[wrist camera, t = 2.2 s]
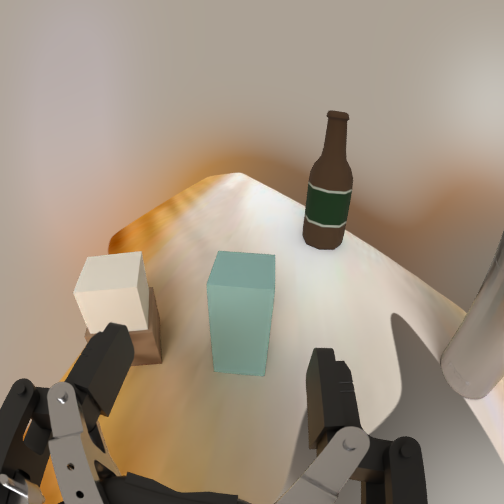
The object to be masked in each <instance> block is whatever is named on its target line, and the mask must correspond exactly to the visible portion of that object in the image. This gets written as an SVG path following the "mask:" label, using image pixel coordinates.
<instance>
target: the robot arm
mask: <svg viewBox="0 0 504 504" xmlns="http://www.w3.org/2000/svg"><path fill="white" fill-rule="evenodd" d="M134 354H135V351H134V346H133V343H132V340H131V337H130V334H129V331H128V328H127V326H126V325H122V324H117V323H112V322H110V323H108V325H107V326H106V328H105V329H104V331H103V332H100V331H99V332H98V333H97V334H95V335H94V336H93V337H92V338H91V339H90V340H89V342H88V343H87V345H86V348H84V350H83V352H82V353H81V355H80V356H79V358H78V360H77V361H76V363H75V365H74V367H73V368H72V370H71V372H70V373H69V375H68V377H67V379H66V380H65V381H64V382H58V383H56V384H54V385H53V386H52V387H51V388H41V387H35V386H34V385H33V384H32V382H31V381H30V380H28V379H19V380H17V381H16V382H15V383H14V384H13V386H12V387H11V390H10V391H9V393H8V395H7V397H6V399H5V401H4V403H3V405H2V407H1V409H0V504H43V503H44V502H45V497H44V496H43V495H42V493H41V490H40V484H41V481H42V478H43V474H44V471H45V468H46V465H47V462H48V459H49V456H50V454H51V459H52V463H53V467H54V471H55V474H56V478H57V481H58V485H59V488H60V491H61V494H62V497H63V500H64V501H62V502H60V503H58V504H251V503H248V502H246V501H244V500H240V499H238V495H230V494H221V493H214V492H190V493H181V492H177V491H174V490H172V489H170V488H168V487H166V486H164V485H162V484H160V483H158V482H156V481H154V480H153V479H149V478H146V477H142V476H139V475H136V474H133V473H130V472H127V476H121V474H120V472H119V470H118V468H117V466H116V464H115V463H114V461H113V460H112V458H111V456H110V454H109V451H108V448H107V446H106V443H105V440H104V437H103V434H102V431H101V427H100V424H99V421H98V417H99V415H100V414H101V415H104V416H106V417H109V414H110V412H111V409H112V407H113V405H114V402H115V400H116V398H117V395H118V393H119V391H120V388H121V386H122V384H123V382H124V379H125V377H126V375H127V373H128V371H129V368H130V366H131V364H132V362H133V359H134ZM441 368H442V373H443V375H444V377H445V379H446V381H447V382H448V384H449V385H450V386H451V388H452V389H453V390H454V391H456V392H457V393H458V394H460V395H462V396H463V397H466V398H469V399H480V398H483V397H485V396H486V395H487V394H488V393H489V392H490V391H491V390H492V389H493V388H494V387H495V386H496V385H497V383H498V382H499V381H500V380H501V379H502V378H503V376H504V231H503V234H502V237H501V240H500V243H499V245H498V248H497V251H496V253H495V256H494V259H493V261H492V263H491V266H490V268H489V270H488V273H487V275H486V277H485V279H484V282H483V284H482V286H481V288H480V290H479V292H478V294H477V296H476V298H475V300H474V302H473V304H472V306H471V307H470V310H469V311H468V313H467V315H466V317H465V318H464V320H463V322H462V324H461V325H460V327H459V329H458V330H457V332H456V333H455V335H454V337H453V338H452V340H451V342H450V343H449V345H448V346H447V348H446V349H445V351H444V353H443V355H442V358H441ZM352 382H353V380H352V375H351V371H350V369H349V368H348V366H347V365H346V363H345V362H344V361H335V355H334V350H333V349H332V348H314V350H313V353H312V356H311V360H310V363H309V366H308V369H307V374H306V392H307V410H308V430H309V431H308V433H309V449H317V458H316V459H315V460H314V461H313V462H312V463H311V465H310V466H309V467H308V469H306V470H305V472H304V473H303V474H302V475H301V476H300V478H298V480H297V481H296V482H295V483H294V484H293V485H292V486H291V487H290V488H289V489H288V490H287V491H286V492H285V493H284V494H283V495H282V496H281V497H280V498H279V499H278V500H277V501H276V502H275V503H274V504H334V503H335V501H336V500H337V498H338V494H339V492H340V490H341V489H342V488H343V486H344V485H345V484H346V482H347V481H348V479H352V480H357V481H361V504H428V502H427V491H426V481H425V473H424V466H423V459H422V453H421V448H420V445H419V443H418V442H417V441H416V440H415V439H413V438H411V437H407V436H406V437H400V438H398V439H396V440H395V441H387V440H381V439H376V438H373V437H371V436H369V435H368V434H367V433H366V432H365V431H364V430H363V429H362V427H361V424H360V419H359V413H358V407H357V402H356V396H355V392H354V386H353V383H352ZM30 418H31V419H32V422H31V424H30V427H29V429H28V431H27V434H26V436H25V439H24V441H23V435H24V432H25V430H26V427H27V425H28V423H29V420H30Z"/></svg>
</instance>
